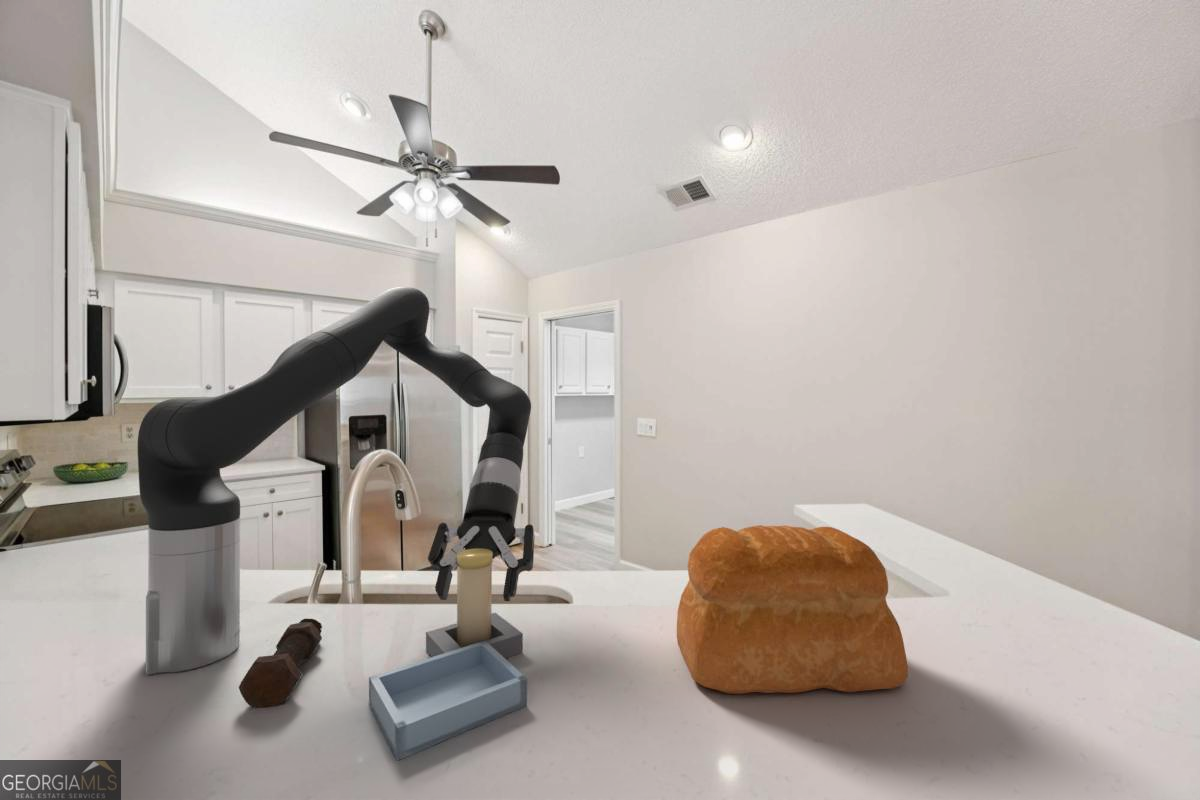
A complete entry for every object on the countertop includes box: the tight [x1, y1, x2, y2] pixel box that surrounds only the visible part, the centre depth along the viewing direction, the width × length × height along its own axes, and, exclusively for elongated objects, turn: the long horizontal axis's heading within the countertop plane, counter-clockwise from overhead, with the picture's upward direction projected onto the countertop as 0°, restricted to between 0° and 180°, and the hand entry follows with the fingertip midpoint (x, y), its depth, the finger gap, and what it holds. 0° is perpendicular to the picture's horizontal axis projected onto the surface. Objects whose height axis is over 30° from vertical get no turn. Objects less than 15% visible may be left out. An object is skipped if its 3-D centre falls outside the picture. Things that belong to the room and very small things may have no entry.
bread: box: [676, 525, 909, 695], centre depth 64 cm, size 16×26×17 cm, turn 93°
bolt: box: [238, 618, 323, 709], centre depth 61 cm, size 6×5×15 cm
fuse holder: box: [425, 612, 524, 659], centre depth 66 cm, size 10×8×2 cm
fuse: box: [456, 548, 494, 648], centre depth 66 cm, size 5×5×13 cm
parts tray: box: [368, 641, 528, 761], centre depth 54 cm, size 14×11×3 cm
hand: (474, 598), depth 66 cm, fingers open, 8 cm apart
